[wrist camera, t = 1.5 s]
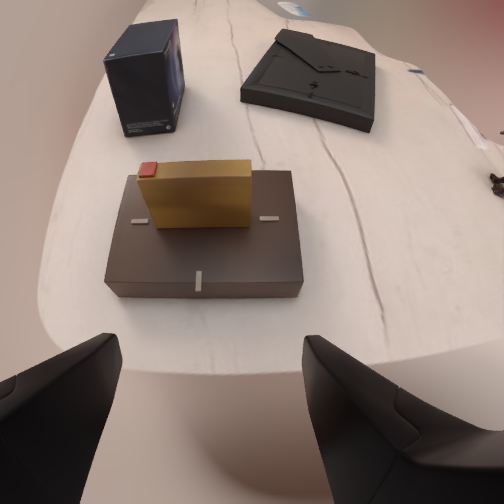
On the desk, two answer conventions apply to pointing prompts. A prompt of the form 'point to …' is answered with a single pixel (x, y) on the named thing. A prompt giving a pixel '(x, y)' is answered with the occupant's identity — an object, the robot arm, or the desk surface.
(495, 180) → the dinosaur model
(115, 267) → the plate
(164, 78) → the small box
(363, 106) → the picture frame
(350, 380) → the robot arm
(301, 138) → the desk surface
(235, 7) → the desk surface
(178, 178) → the yellow rectangular slab
